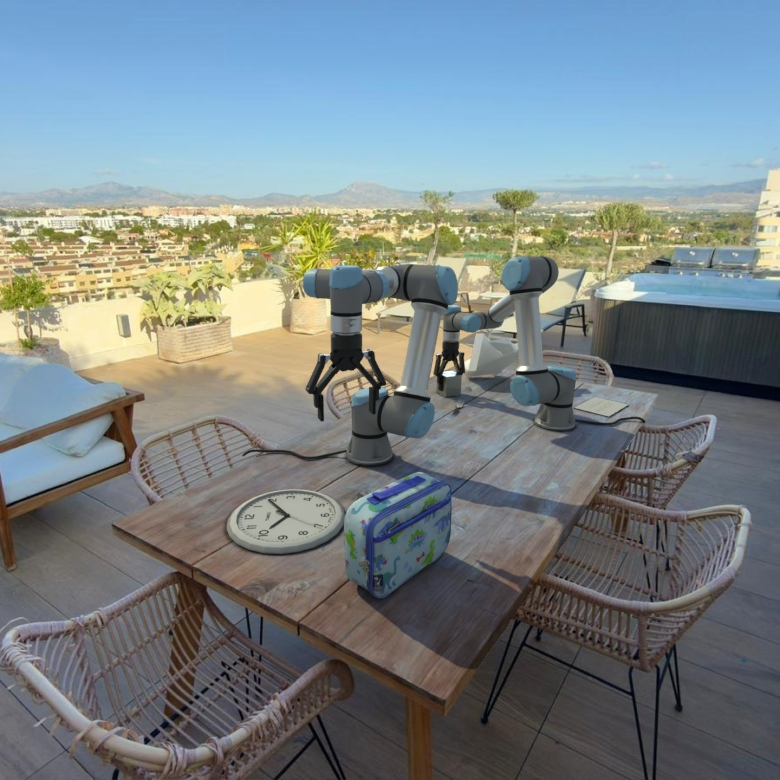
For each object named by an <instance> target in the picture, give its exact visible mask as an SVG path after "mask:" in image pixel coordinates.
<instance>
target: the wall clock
mask: <svg viewBox="0 0 780 780" xmlns="http://www.w3.org/2000/svg"><path fill="white" fill-rule="evenodd" d="M345 516H346V513H345V511H344V508H343V507H342V505H341V504H340V503H339V502H338V501H337V500H336V499H334V498H333V497H331V496H329V495H327V494H324V493H322V492H319V491H315V490H309V489H298V488H297V489H295V488H292V489H289V488H288V489H280V490H279V489H278V490H274V491H270V492H269V491H268V492H265V493H262V494H260V495H257V496H254V497H252V498H250V499H248V500H246V501H245V502H243V503H241V504H240V505H239V506H237V508H236V509H234V510H233V511H232V512H231V514H230V516H229V517H228V519H227V522H226V531H227V534H228V537H229V538H230V539H231V540H232V541H233V542H234V543H235V544H236V545H238V546H240V547H242V548H244V549H246V550H248V551H253V552H256V553H261V554H271V555H273V554H274V555H281V554H282V555H283V554H291V553H300V552H303V551H306V550H311V549H314V548H316V547H318V546H320V545H322V544H325V543H328V541H330V540H332V538H334V537H335V536H336V535H338V533H339V532H340V531H341V530H342V528H344V520H345Z"/></svg>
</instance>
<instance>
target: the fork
mask: <svg viewBox="0 0 780 780" xmlns="http://www.w3.org/2000/svg"><path fill="white" fill-rule="evenodd" d="M464 403H465V400H462V399H459V400H458V401H457V404H456V408H455V409H454V410H453V413H452V416H453V415H455V414H456V413H457V412H458V410H459V408H463V406H464Z"/></svg>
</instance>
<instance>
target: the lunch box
mask: <svg viewBox="0 0 780 780" xmlns="http://www.w3.org/2000/svg"><path fill="white" fill-rule="evenodd" d="M452 507H453V505H452V487H451V484H450V483H449V482H448V481H445V480H438V479H436V478H434V477H432V476H431V475H429V474H427V473H424V472H422V471H417V472H414V473H411V474H409V475H407V476H404V477H401V478H399V479H397V480H395V481H393V482H391V483H388V484H386V485H385V486H383V487H380V488H379V489H376V490H374V491H372V492H370V493H368V494H366V495H364V496H362V497H359V499H356V500H355V501H353V502H352V503H351V504H350V506H349V507H348V508H347V511H346V513H345V520H344V524H343V536H344V537H343V539H344V555H345V556H344V565H345V572H346V576H347V579H348V580H349V581H351V582H353V583H354V584H357V585H359V586H360V587H362V588H363V589H365V590H366V591H368V593H369V594H370V596H373V597H374V598H376V599H385V598H387V597H388V596H390V595H391V594H392V593H393V592H394V591H396V590H397V589H398V588H399V587H400V586H402V585H403V584H405V583H407V582H408V581H409V580H410V579H412V578H414V576H416V575H417V574H418V573H419V572H420V571H421V570H423V569H424V568H426V567H427V566H429V565H431V564H433V563H435V562H436V561H437V560H439V559H440V558H441V557H442V556H443V554H445V552H446V550H447V548H448V546H449V543H450V540H451V535H452V534H451V533H452V515H453V514H452V511H453V510H452V509H453V508H452Z"/></svg>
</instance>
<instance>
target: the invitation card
mask: <svg viewBox="0 0 780 780" xmlns="http://www.w3.org/2000/svg"><path fill="white" fill-rule="evenodd" d="M628 406H629V404H627V403H623V402H618V401H614V400H609V399H605V398H601V397H596V396H593V397H592V398H590V399H588V400H586V401H584V402H582V403H580V404H578V405H575V406H574V407H573V409H575V410H581V411H584V412H587V413H593V414H596V415H600V416H604V417H608V418H609V417H611V416H613V415H614V414H616V413H617V412H619V411H621V410H623V409H624V408H626V407H628Z"/></svg>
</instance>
